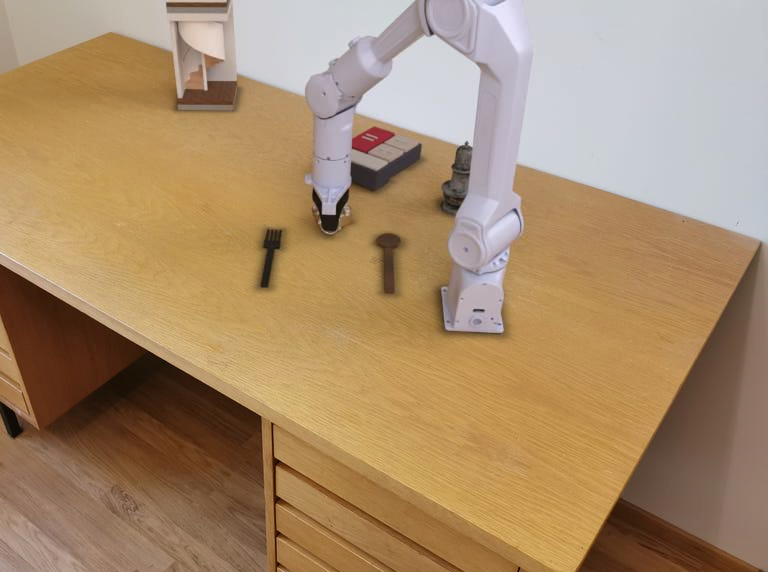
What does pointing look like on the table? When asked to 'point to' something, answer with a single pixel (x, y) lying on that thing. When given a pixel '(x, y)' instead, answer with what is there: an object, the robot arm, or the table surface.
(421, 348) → the table surface
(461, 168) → the grey stone chess piece
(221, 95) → the spiral staircase model
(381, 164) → the calculator
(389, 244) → the brown disc-ended stick
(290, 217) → the table surface
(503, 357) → the table surface
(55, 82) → the table surface
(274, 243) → the black fork
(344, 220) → the ornament
